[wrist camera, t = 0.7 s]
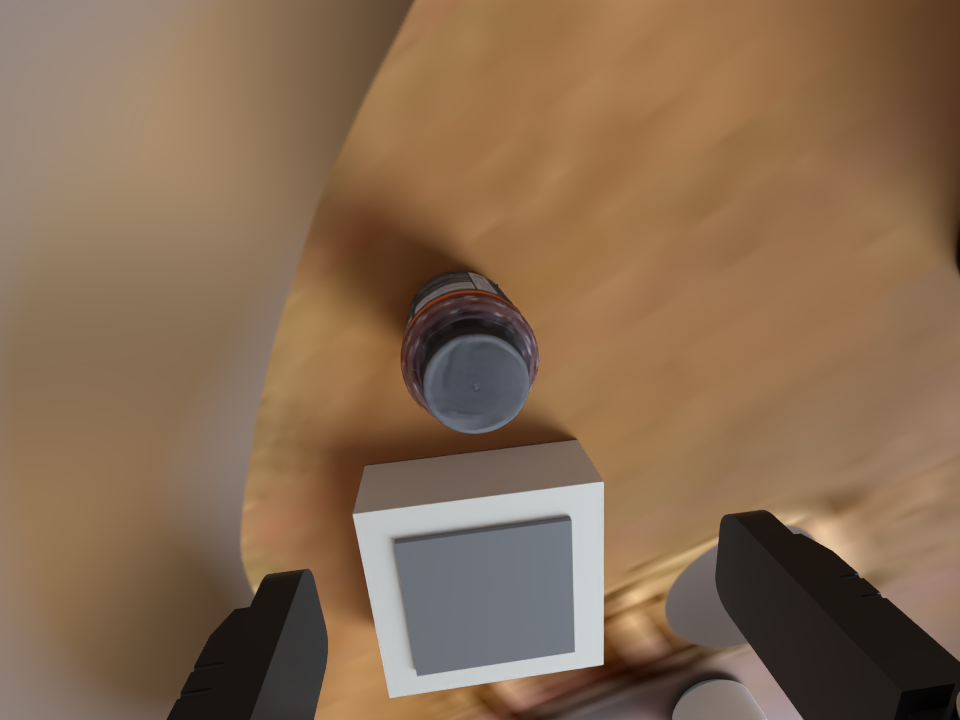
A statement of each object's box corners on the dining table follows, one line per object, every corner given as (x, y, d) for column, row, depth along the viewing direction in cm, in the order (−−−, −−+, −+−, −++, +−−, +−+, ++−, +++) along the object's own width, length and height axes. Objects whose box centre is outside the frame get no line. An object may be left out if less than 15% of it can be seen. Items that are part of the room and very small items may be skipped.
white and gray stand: (577, 439, 31) (606, 485, 26) (580, 603, 36) (605, 670, 31) (364, 465, 30) (351, 518, 25) (395, 631, 35) (389, 704, 30)
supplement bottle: (515, 356, 29) (564, 445, 18) (419, 374, 29) (412, 474, 18) (501, 259, 27) (547, 295, 16) (398, 277, 27) (378, 325, 16)
